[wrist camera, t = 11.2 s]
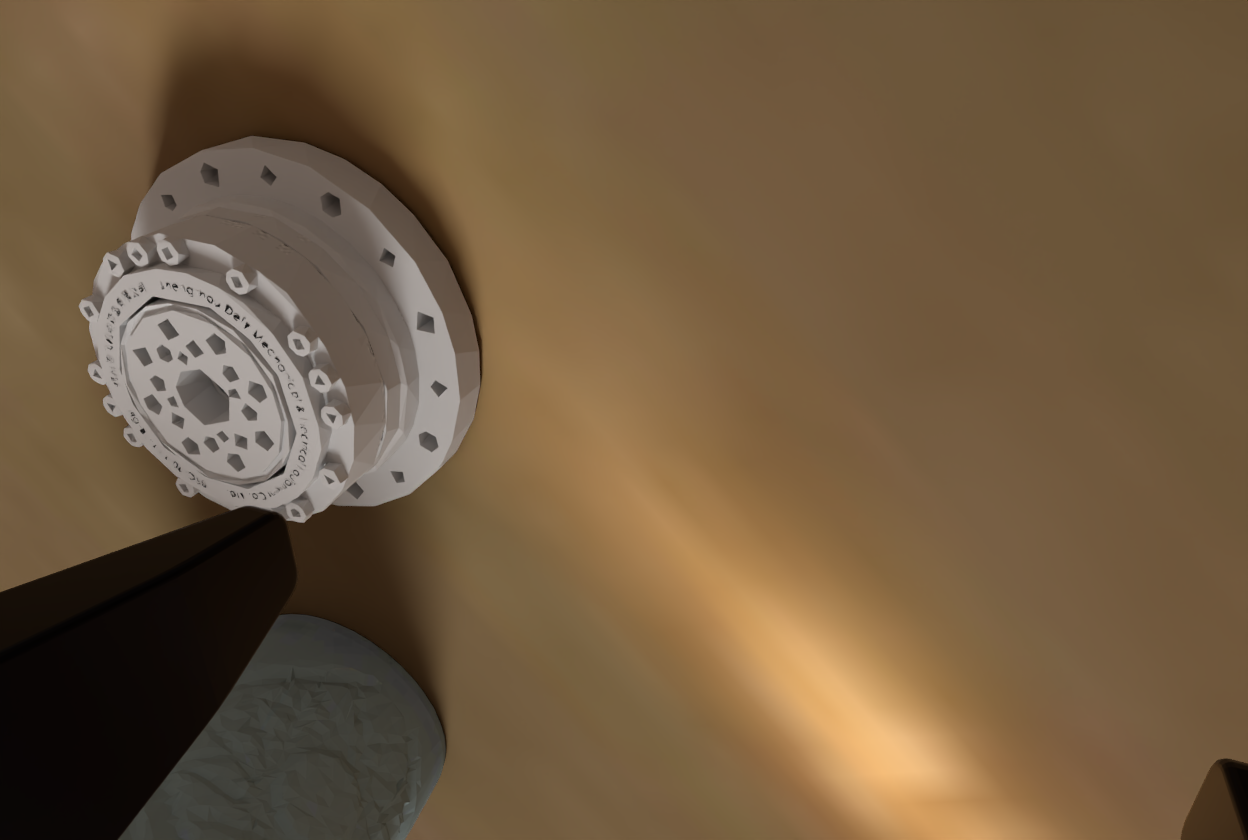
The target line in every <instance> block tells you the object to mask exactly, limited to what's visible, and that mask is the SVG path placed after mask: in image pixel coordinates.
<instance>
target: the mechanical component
mask: <svg viewBox="0 0 1248 840" xmlns="http://www.w3.org/2000/svg"><path fill="white" fill-rule="evenodd" d="M79 308H80V310H81V312H82V314H83V315H84V317H85V318H86V319H87V320H88V321H90V325H89V330H90V334H91V338H92V341H93V345H94V349H95V353H96V356H97V360H96V361H94V362H92V363H91V364H89V366H88V372H89V374H90V376H91V378H92V379H93V380H94V381H96V382H97V383H99V384H102V385H104V384H106V385H107V387H108V389H109V391H110V394H109V395H107V396H106V397H105V398H103V405H104V407H105V408H106V410H107V411H108V413H110V414H111V415H113V416H115V417H117V416H120V415H123V416H124V418H125V419H126V421H127V422H128V424H129V426H127V427H126V428H124V437H125V438H126V440H127V441H128V442H129V443H130V444H131V445H132V446H135V447H141V446H143V445H144V446H145V447H146V448H147V449H148V450H149V451H150V452H151V453H152V454H153V455H154V456H155V457H156V458H157V459H158V460H159V461H161V462H162V463H163V464H164V465H165V466H166V467H167V468H168V469H169V470H170V471H171V472H172V473H173V474H174V475H175V476H177V477H178V479H177V482H176V486H177V488H178V490H179V491H180V492H181V494H182V495H184V496H187V497H190V498H191V497H192V496H194V495H195V494H197V493H198V492H199V493H200V494H201V495H203V496H204V497H206V498H208V499H210V500H212V501H214V502H216V503H218V504H220V505H222V506H224V507H226V508H228V509H230V510H234V509H237V508H239V507H243V506H256V507H260V508H264V509H268V510H272V511H275V512H278V513H280V514H282V516H283V517H284V518H285V519H286V521H295V522H300V523H304V522H305V521H306V520H308V519H309V518H310V517H311V516H312V514H315V513H318V512H322V511H324V510H325V509H326V508H327V507H328V506H329V505H330V504H333V505H337V506H377V505H380V504H383V503H386V502H389V501H391V500H394V499H397V498H400V497H403V496H406V495H409V494H410V493H412V492H413V491H414V490H415V489H416V488H418V487H419V486H420V485H421V484H422V483H423V482H425V481H426V480H427V479H428V478H429V477H431V476H432V475H433V474H434V473H435V472H436V471H438V470H439V469H440V468H441V467H442V466H443V465H444V464H445V463H446V462H447V461H448V460H449V459H450V458H451V457H452V456H453V455H454V454H455V453H456V451H457V449H458V448H459V446H460V444H461V442H462V440H463V438H464V436H465V434H466V432H467V430H468V428H469V427H470V425H471V423H472V421H473V419H474V415H475V410H476V405H477V399H478V394H479V389H480V360H479V348H478V343H477V338H476V333H475V328H474V324H473V319H472V315H471V313H470V310H469V308H468V306H467V303H466V301H465V299H464V297H463V294H462V292H461V290H460V287H459V285H458V283H457V281H456V278H455V276H454V274H453V271H452V269H451V267H450V265H449V262H448V260H447V259H446V258H445V256H444V255H443V254H442V252H441V251H440V250H439V248H438V247H437V246H436V244H435V243H434V241H433V240H432V239H431V237H430V236H429V235H428V233H427V232H426V231H425V229H424V228H423V227H422V225H421V224H420V223H419V221H418V220H417V219H416V217H415V216H414V215H413V214H412V213H411V212H410V211H409V210H408V209H407V208H406V207H405V206H404V205H403V204H402V203H401V202H400V201H399V200H398V199H397V198H396V197H395V196H394V195H392V194H391V193H390V192H389V191H388V190H387V189H386V188H385V187H384V186H383V185H382V184H381V183H379V182H378V181H376V180H375V179H373V178H372V177H370V176H369V175H367V174H366V173H364V172H363V171H361V170H360V169H358V168H357V167H356V166H354V165H353V164H351V163H350V162H348V161H347V160H345V159H343V158H341V157H338V156H336V155H333V154H331V153H328V152H326V151H324V150H321V149H319V148H316V147H314V146H311V145H309V144H307V143H304V142H296V141H288V140H281V139H273V138H265V137H258V136H249V137H246V138H242V139H239V140H235V141H232V142H228V143H225V144H222V145H218V146H215V147H211V148H208V149H204V150H201V151H199V152H197V153H196V154H194V155H192V156H190V157H189V158H187V159H185V160H183V161H182V162H180V163H178V164H176V165H174V166H173V167H171V168H169V169H167V170H166V171H164V172H162V173H160V175H159V176H158V178H157V179H156V181H155V182H154V184H153V185H152V187H151V188H150V190H149V192H148V193H147V195H146V196H145V198H144V199H143V201H142V202H141V204H140V206H139V210H138V213H137V216H136V220H135V223H134V226H133V230H132V234H131V241H129V242H127V243H124V244H123V245H122V246H121V247H119V248H118V249H117V250H115V251H111V252H107V253H106V255H105V256H104V258H103V263H102V264H101V266H100V269H99V271H98V273H97V275H96V277H95V279H94V285H93V295H91V296H89V297H87V298H84V299H82V301H81V303H80V305H79Z"/></svg>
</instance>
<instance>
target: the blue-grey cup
mask: <svg viewBox="0 0 1248 840" xmlns="http://www.w3.org/2000/svg"><path fill="white" fill-rule="evenodd" d="M445 754H446V747H445V737H444V733H443V730H442V726H441V724H440V721H439V719H438V716H437V714H436V712H435V710H434V707H433V706H432V704H431V703H430V701H429V700H428V698H427V697H426V695H425V693H424V692H423V691H422V689H421V688H420V687H419V685H418V684H417V683H416V681H415V680H414V679H413V678H412V677H411V676H410V675H409V674H408V673H407V672H406V671H405V669H404V668H403V667H402V666H401V665H400V664H398V663H397V662H396V661H395V660H394V659H393V658H392V657H390V656H389V655H388V654H387V653H386V652H384V651H383V650H382V649H380V648H379V647H377V646H376V645H375V644H373V643H372V642H370V641H369V640H368V639H366V638H364V637H363V636H361V635H359V634H357V633H356V632H354V631H352V630H350V629H348V628H345V627H343V626H341V625H339V624H336V623H334V622H331V621H328V620H325V619H322V618H318V617H314V616H309V615H299V614H286V615H279V616H278V618H277V620H276V621H275V623H274V624H273V626H272V627H271V629H270V631H269V632H268V634H267V635H266V637H265V638H264V640H263V642H262V643H261V645H260V646H259V648H258V649H257V651H256V653H255V654H254V656H253V657H252V659H251V661H250V662H249V664H248V665H247V667H246V668H245V670H244V672H243V673H242V675H241V676H240V678H239V679H238V681H237V683H236V684H235V686H234V687H233V689H232V690H231V692H230V693H229V695H228V696H227V698H226V699H225V701H224V702H223V704H222V705H221V707H220V708H219V710H218V711H217V712H216V714H215V715H214V716H213V718H212V719H211V721H210V722H209V723H208V725H207V726H206V727H205V729H204V730H203V731H202V732H201V734H200V735H199V736H198V738H197V739H196V740H195V741H194V743H193V744H192V745H191V747H190V748H189V749H188V750H187V752H186V753H185V754H184V756H183V757H182V758H181V760H180V761H179V762H178V763H177V765H176V766H175V767H174V769H173V770H172V771H171V772H170V774H169V775H168V776H167V778H166V779H165V780H164V781H163V783H162V784H161V785H160V787H159V788H158V789H157V790H156V792H155V793H154V794H153V796H152V797H151V798H150V799H149V801H148V802H147V803H146V805H145V806H144V807H143V808H142V810H141V811H140V812H139V814H138V815H137V816H136V817H135V819H134V820H133V821H132V823H131V824H130V825H129V827H128V828H127V829H126V830H125V832H124V833H123V834H122V836H121V837H120V838H119V839H118V840H405V838H406V837H407V835H408V833H409V832H410V830H411V828H412V827H413V825H414V823H415V821H416V820H417V818H418V816H419V814H420V812H421V811H422V809H423V807H424V805H425V803H426V802H427V800H428V798H429V796H430V794H431V793H432V791H433V789H434V787H435V785H436V783H437V782H438V780H439V777H440V775H441V772H442V768H443V765H444V761H445Z"/></svg>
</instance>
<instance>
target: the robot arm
mask: <svg viewBox="0 0 1248 840" xmlns="http://www.w3.org/2000/svg"><path fill="white" fill-rule="evenodd" d="M297 580H298V567H297V563H296V558H295V554H294V550H293V545H292V541H291V537H290V532H289V528H288V524H287V521H286V519H285V518H284V517H283V516H282V514H280V513H278V512H275V511H272V510H268V509H264V508H260V507H256V506H243V507H239V508H237V509H234V510H231V511H228V512H225V513H223V514H220V515H217V516H214V517H211V518H208V519H206V520H203V521H200V522H197V523H194V524H192V525H189V526H186V527H183V528H180V529H177V530H175V531H172V532H169V533H166V534H163V535H160V536H158V537H155V538H152V539H149V540H146V541H144V542H141V543H138V544H135V545H132V546H129V547H127V548H124V549H121V550H118V551H115V552H112V553H110V554H107V555H104V556H101V557H98V558H96V559H93V560H90V561H87V562H84V563H81V564H79V565H76V566H73V567H70V568H67V569H64V570H62V571H59V572H56V573H53V574H50V575H48V576H45V577H42V578H39V579H36V580H33V581H31V582H28V583H25V584H22V585H19V586H16V587H14V588H11V589H8V590H5V591H2V592H0V840H118V839H119V838H120V837H121V836H122V834H123V833H124V832H125V830H126V829H127V828H128V827H129V825H130V824H131V823H132V821H133V820H134V819H135V817H136V816H137V815H138V814H139V812H140V811H141V810H142V808H143V807H144V806H145V805H146V803H147V802H148V801H149V799H150V798H151V797H152V796H153V794H154V793H155V792H156V790H157V789H158V788H159V787H160V785H161V784H162V783H163V781H164V780H165V779H166V778H167V776H168V775H169V774H170V772H171V771H172V770H173V769H174V767H175V766H176V765H177V763H178V762H179V761H180V760H181V758H182V757H183V756H184V754H185V753H186V752H187V750H188V749H189V748H190V747H191V745H192V744H193V743H194V741H195V740H196V739H197V738H198V736H199V735H200V734H201V732H202V731H203V730H204V729H205V727H206V726H207V725H208V723H209V722H210V721H211V719H212V718H213V716H214V715H215V714H216V712H217V711H218V710H219V708H220V707H221V705H222V704H223V702H224V701H225V699H226V698H227V696H228V695H229V693H230V692H231V690H232V689H233V687H234V686H235V684H236V683H237V681H238V679H239V678H240V676H241V675H242V673H243V672H244V670H245V668H246V667H247V665H248V664H249V662H250V661H251V659H252V657H253V656H254V654H255V653H256V651H257V649H258V648H259V646H260V645H261V643H262V642H263V640H264V638H265V637H266V635H267V634H268V632H269V631H270V629H271V627H272V626H273V624H274V623H275V621H276V620H277V618H278V616H279V615H280V613H281V612H282V610H283V608H284V607H285V605H286V604H287V602H288V601H289V599H290V597H291V596H292V594H293V592H294V590H295V587H296V585H297ZM1181 840H1248V764H1247V763H1243V762H1239V761H1236V760H1232V759H1220V760H1217V761H1216V762H1215V763H1214V764H1213V765H1212V767H1211V768H1210V770H1209V772H1208V774H1207V776H1206V778H1205V780H1204V782H1203V784H1202V786H1201V789H1200V791H1199V793H1198V795H1197V797H1196V799H1195V801H1194V803H1193V805H1192V807H1191V809H1190V811H1189V813H1188V816H1187V818H1186V820H1185V822H1184V826H1183V829H1182V834H1181Z"/></svg>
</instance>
